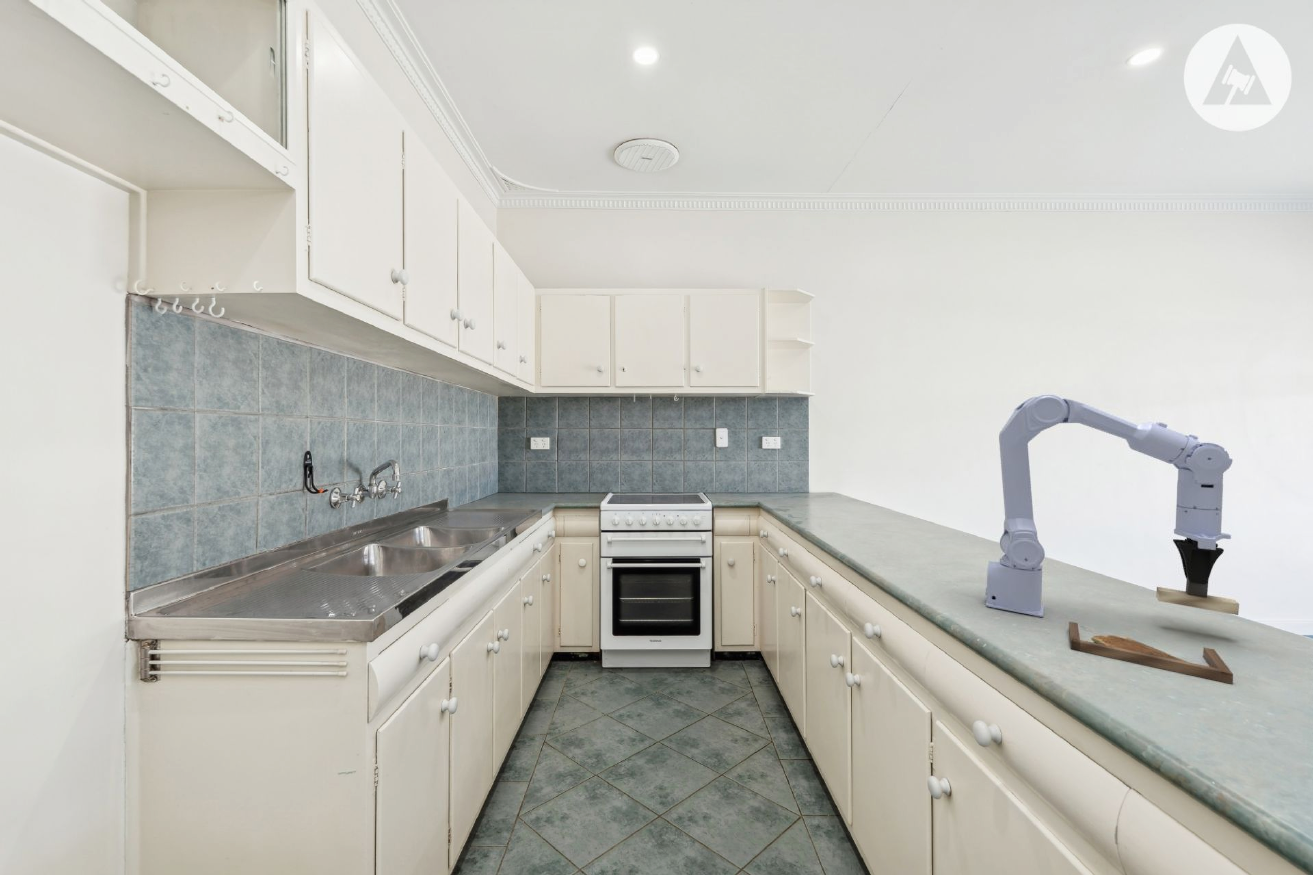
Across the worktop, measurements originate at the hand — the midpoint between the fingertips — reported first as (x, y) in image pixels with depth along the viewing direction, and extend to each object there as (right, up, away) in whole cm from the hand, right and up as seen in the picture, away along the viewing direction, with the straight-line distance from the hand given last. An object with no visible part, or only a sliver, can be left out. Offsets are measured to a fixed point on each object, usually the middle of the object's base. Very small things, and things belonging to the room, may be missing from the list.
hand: (1195, 581), depth 93 cm
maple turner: (0, -5, 0) cm, 5 cm away
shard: (-18, -10, -8) cm, 23 cm away
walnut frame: (-18, -10, -9) cm, 22 cm away
